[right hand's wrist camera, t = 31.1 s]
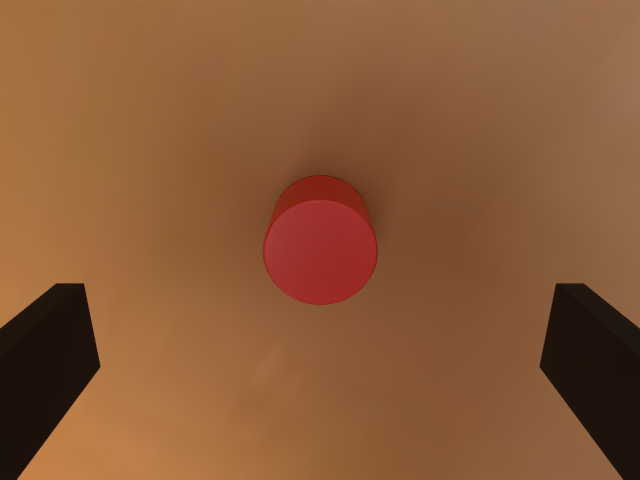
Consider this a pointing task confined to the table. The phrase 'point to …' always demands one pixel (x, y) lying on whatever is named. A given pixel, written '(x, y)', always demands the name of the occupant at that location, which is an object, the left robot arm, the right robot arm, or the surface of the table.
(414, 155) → the table surface
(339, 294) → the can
